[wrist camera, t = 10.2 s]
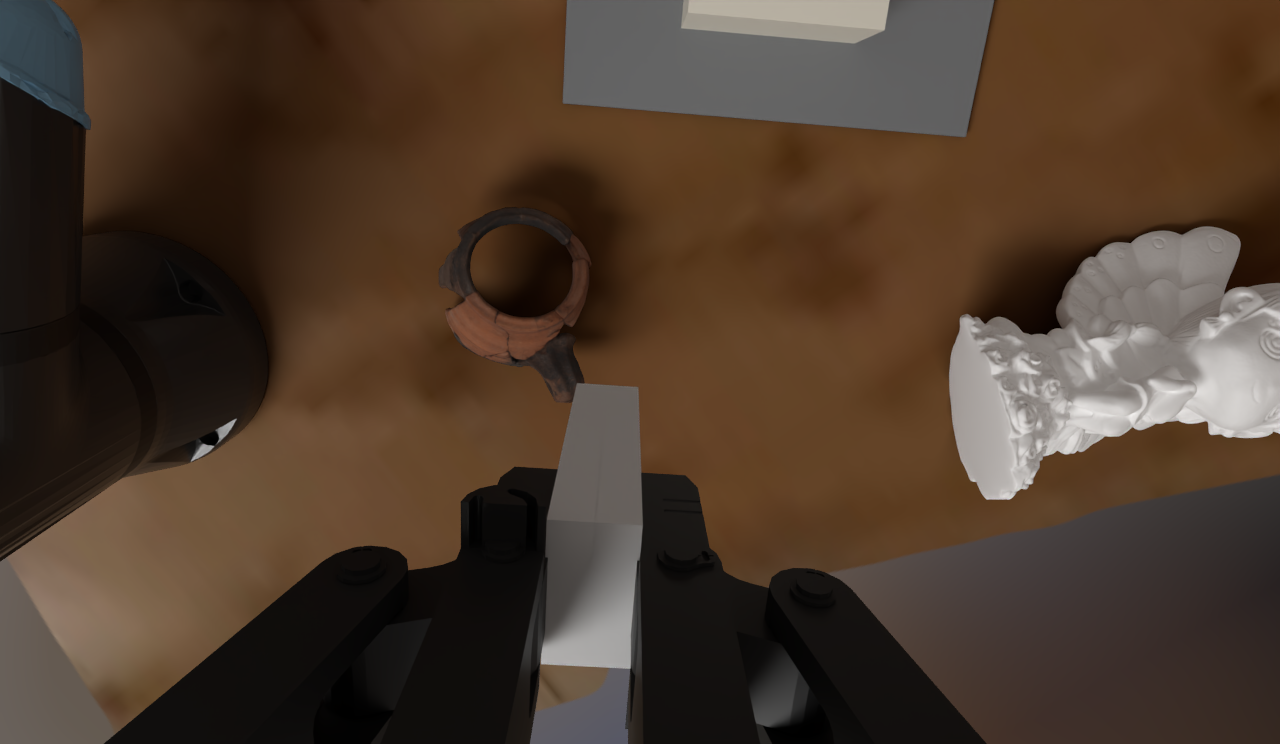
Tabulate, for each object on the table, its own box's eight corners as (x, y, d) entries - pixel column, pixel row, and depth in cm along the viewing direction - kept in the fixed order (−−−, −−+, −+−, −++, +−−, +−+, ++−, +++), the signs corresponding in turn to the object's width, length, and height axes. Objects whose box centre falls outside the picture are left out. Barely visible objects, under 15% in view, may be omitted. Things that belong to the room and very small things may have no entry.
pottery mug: (411, 287, 45) (402, 244, 38) (532, 216, 48) (547, 161, 40) (519, 440, 45) (532, 428, 38) (634, 360, 48) (668, 333, 40)
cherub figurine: (994, 315, 35) (1457, 229, 32) (924, 273, 47) (1257, 207, 44) (1014, 543, 39) (1431, 487, 36) (944, 450, 51) (1253, 402, 47)
